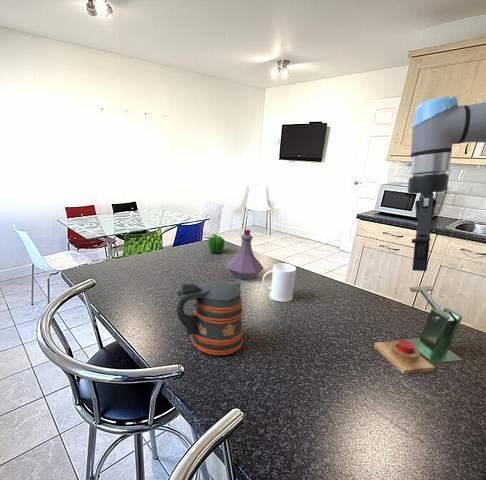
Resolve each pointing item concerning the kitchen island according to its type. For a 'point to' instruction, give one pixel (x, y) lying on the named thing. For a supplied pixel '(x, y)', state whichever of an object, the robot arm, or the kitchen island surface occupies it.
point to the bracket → (438, 337)
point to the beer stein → (213, 316)
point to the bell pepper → (216, 244)
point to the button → (405, 346)
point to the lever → (431, 300)
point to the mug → (281, 282)
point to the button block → (404, 358)
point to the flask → (245, 260)
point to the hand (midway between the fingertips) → (419, 263)
